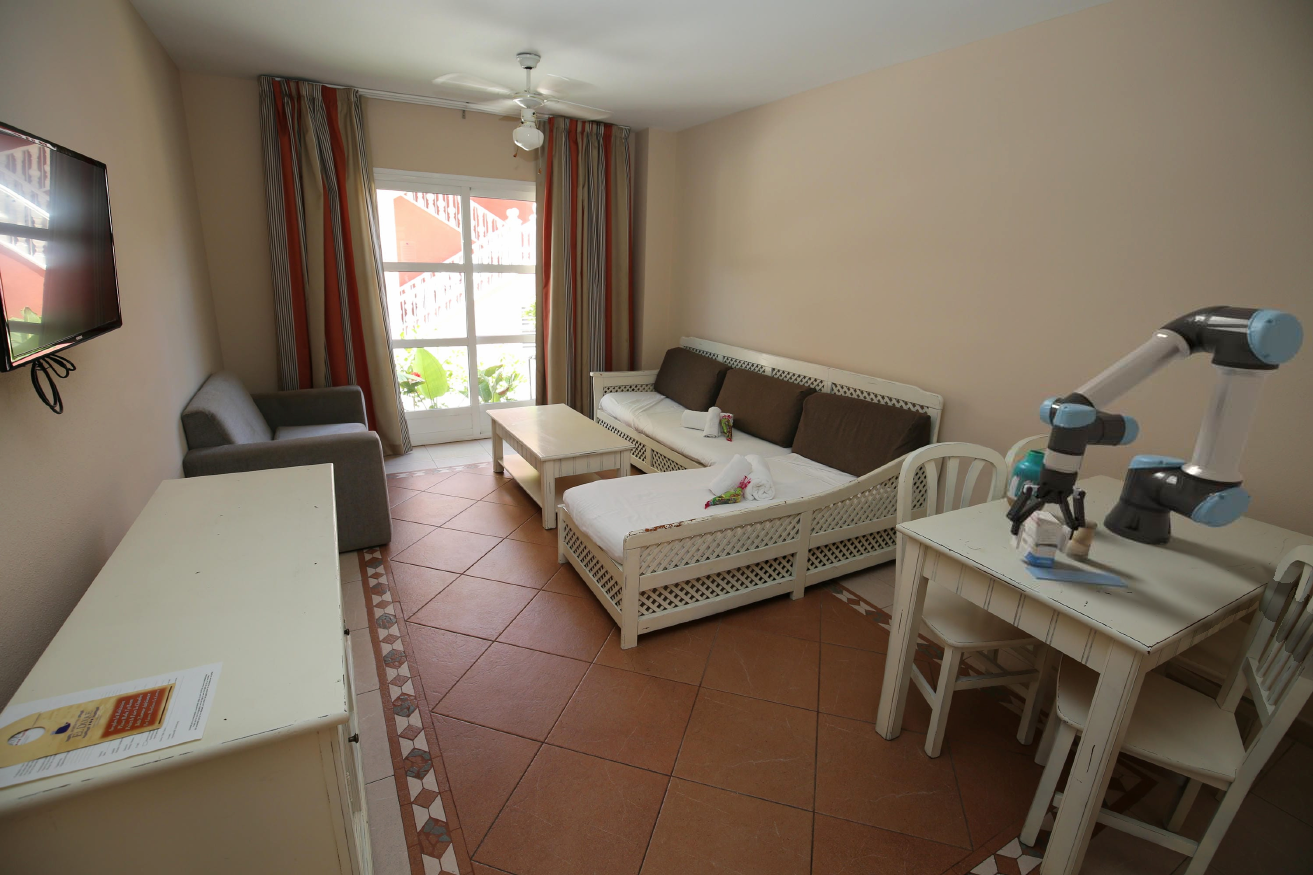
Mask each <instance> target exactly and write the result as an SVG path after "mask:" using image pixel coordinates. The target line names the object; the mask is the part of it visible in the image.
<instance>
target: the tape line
mask: <svg viewBox="0 0 1313 875" xmlns="http://www.w3.org/2000/svg"><path fill="white" fill-rule="evenodd" d="M1025 570H1027V571H1028V572H1029V573H1030V574H1031V575H1032V576H1033V577H1034V578H1035V579H1040V580H1041V579H1042V580H1049V581H1050V580H1052V581H1061V582H1062V581H1063V582H1070V583H1071V582H1073V583H1083V584H1095V585H1105V586H1114V587H1115V586H1116V587H1126V588H1128V587H1129V585H1128V584H1126V583H1125V581H1123V580H1122V579H1120V578H1119V577H1117V576H1116V575H1115V574H1112V573H1111V574H1109V573H1098V572H1088V571H1076V570H1067V569H1066V570H1065V569H1058V568H1057V569H1055V568H1047V567H1035V566H1025Z"/></svg>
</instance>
